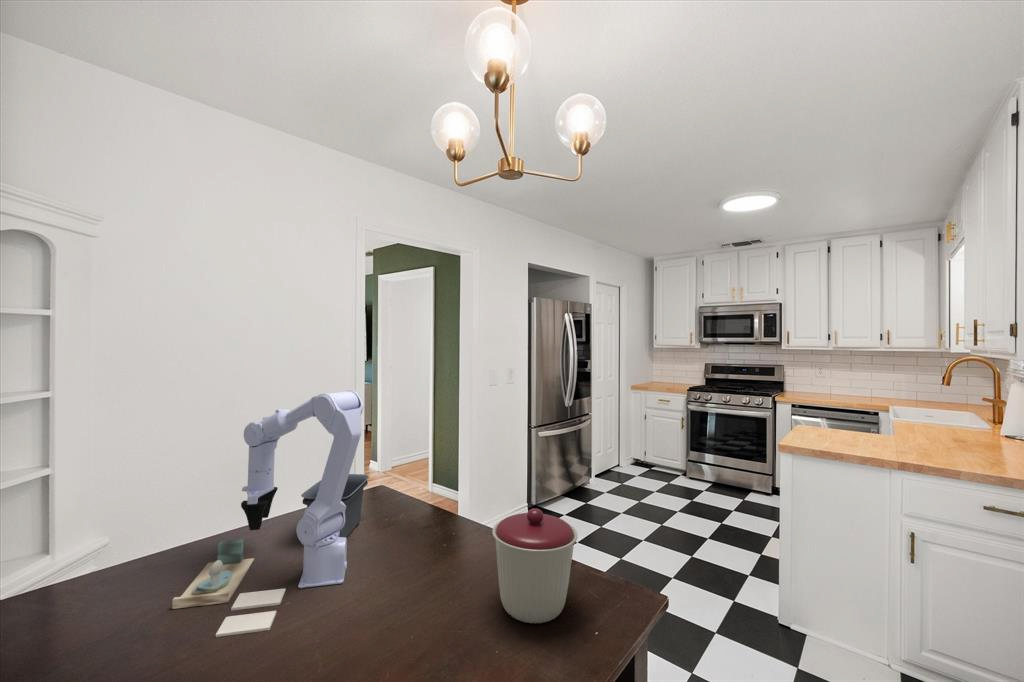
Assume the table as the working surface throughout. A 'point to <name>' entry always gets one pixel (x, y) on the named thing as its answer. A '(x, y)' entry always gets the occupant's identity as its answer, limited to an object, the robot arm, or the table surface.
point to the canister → (534, 564)
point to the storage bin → (345, 500)
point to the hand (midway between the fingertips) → (259, 523)
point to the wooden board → (231, 560)
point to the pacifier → (213, 579)
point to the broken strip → (251, 621)
